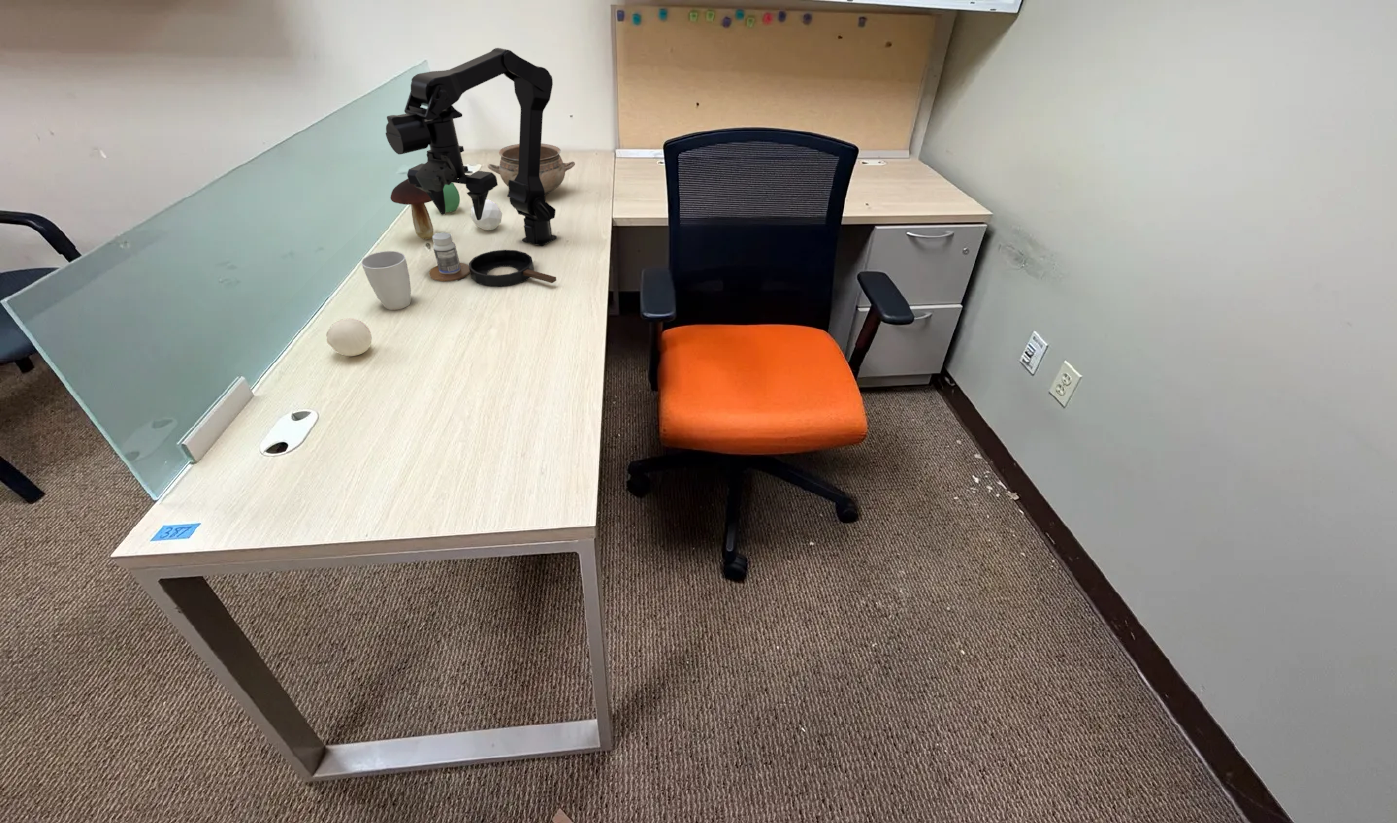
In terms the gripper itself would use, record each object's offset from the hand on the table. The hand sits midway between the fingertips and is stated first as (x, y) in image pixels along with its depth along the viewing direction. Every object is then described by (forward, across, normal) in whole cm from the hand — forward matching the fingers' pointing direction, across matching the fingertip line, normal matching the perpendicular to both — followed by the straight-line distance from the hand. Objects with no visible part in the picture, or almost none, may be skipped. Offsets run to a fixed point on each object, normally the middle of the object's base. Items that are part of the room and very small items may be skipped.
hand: (461, 216), depth 134 cm
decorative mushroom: (+12, -20, +9) cm, 25 cm away
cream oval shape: (+11, +1, -40) cm, 41 cm away
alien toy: (+12, -26, +28) cm, 40 cm away
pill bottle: (+11, -2, -5) cm, 13 cm away
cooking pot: (+13, -11, +49) cm, 52 cm away
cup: (+11, -4, -22) cm, 25 cm away
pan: (+12, +13, -2) cm, 17 cm away
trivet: (+12, -2, -5) cm, 13 cm away
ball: (+12, -8, +21) cm, 25 cm away
